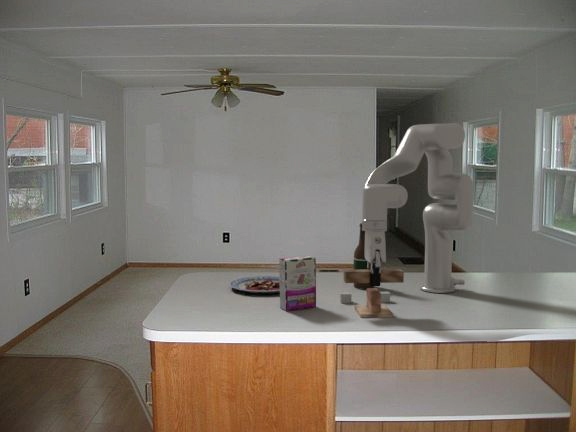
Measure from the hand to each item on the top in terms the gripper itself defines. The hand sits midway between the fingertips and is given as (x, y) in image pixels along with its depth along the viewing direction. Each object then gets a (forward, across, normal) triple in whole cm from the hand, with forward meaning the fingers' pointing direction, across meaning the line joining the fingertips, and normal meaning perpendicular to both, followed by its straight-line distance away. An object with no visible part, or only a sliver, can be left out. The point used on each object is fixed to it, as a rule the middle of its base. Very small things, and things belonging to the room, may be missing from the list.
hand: (373, 284), depth 179 cm
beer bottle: (+9, +36, -4) cm, 38 cm away
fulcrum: (+9, 0, 0) cm, 9 cm away
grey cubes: (+9, +14, 0) cm, 17 cm away
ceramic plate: (+10, +37, +33) cm, 51 cm away
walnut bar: (-1, 0, 0) cm, 1 cm away
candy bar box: (+9, +8, +23) cm, 26 cm away
